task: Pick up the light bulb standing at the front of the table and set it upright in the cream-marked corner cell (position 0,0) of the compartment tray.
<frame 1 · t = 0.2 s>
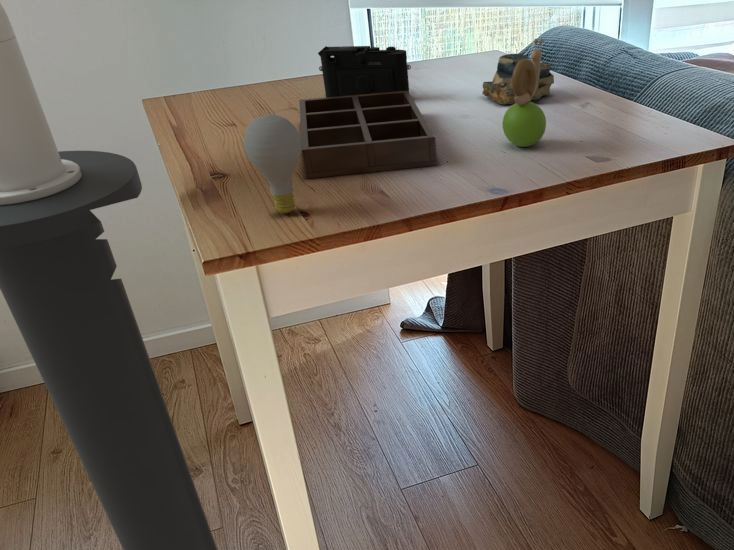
rock: (517, 99, 107), on the table
light bulb: (286, 214, 72), on the table
compartment tray: (364, 142, 90), on the table
camera: (370, 98, 110), on the table
snail figurine: (525, 146, 88), on the table
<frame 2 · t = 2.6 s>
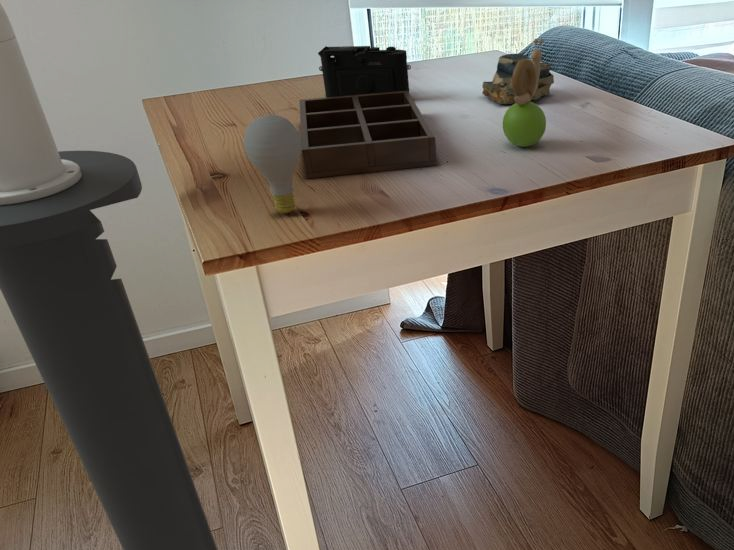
nothing on the table moved.
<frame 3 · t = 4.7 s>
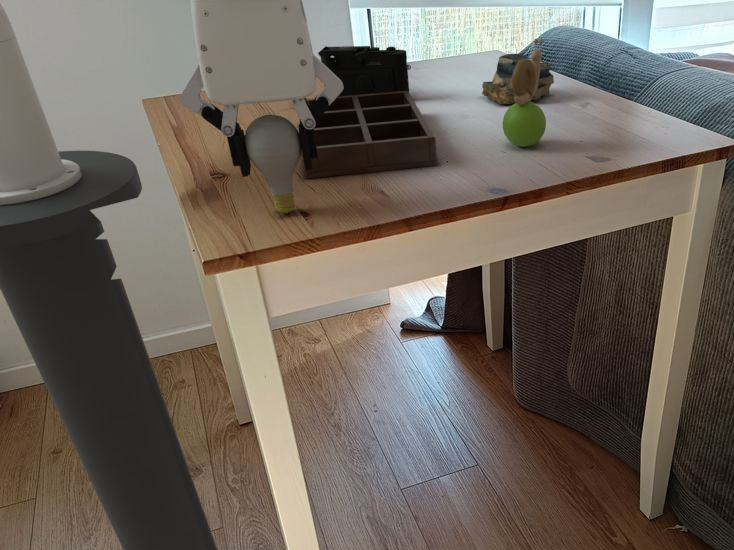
hand: (277, 167, 69), 5 cm above the table, tool pointing down, fingers closed on light bulb, 5 cm apart
light bulb: (286, 214, 72), on the table, touching gripper
everything else where it was.
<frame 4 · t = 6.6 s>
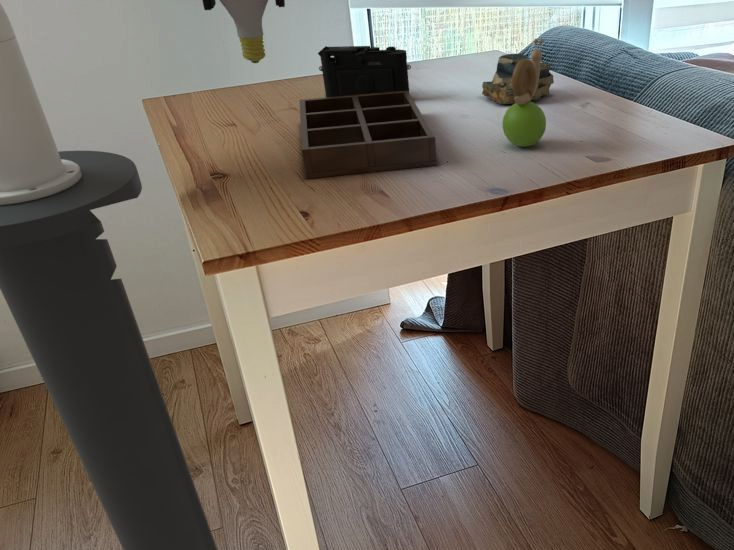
hand: (245, 4, 61), 20 cm above the table, tool pointing down, fingers closed on light bulb, 5 cm apart
light bulb: (255, 64, 64), point 14 cm above the table, touching gripper
everything else where it was.
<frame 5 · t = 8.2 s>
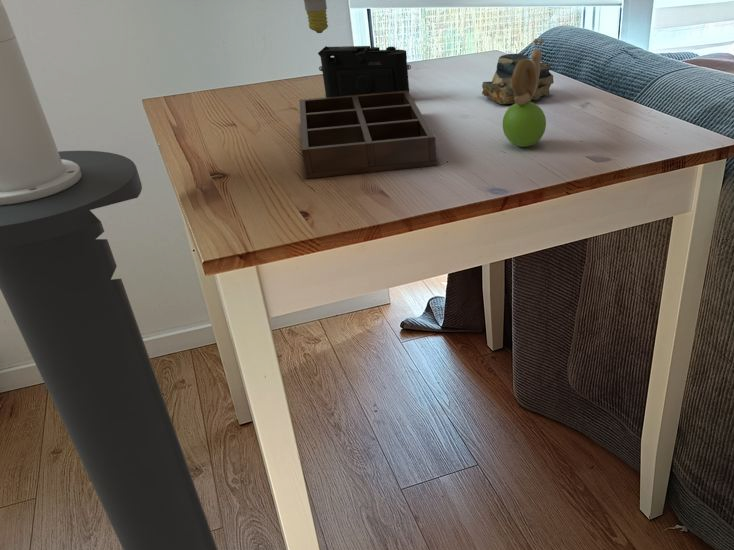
light bulb: (319, 34, 75), point 15 cm above the table, touching gripper
everything else where it was.
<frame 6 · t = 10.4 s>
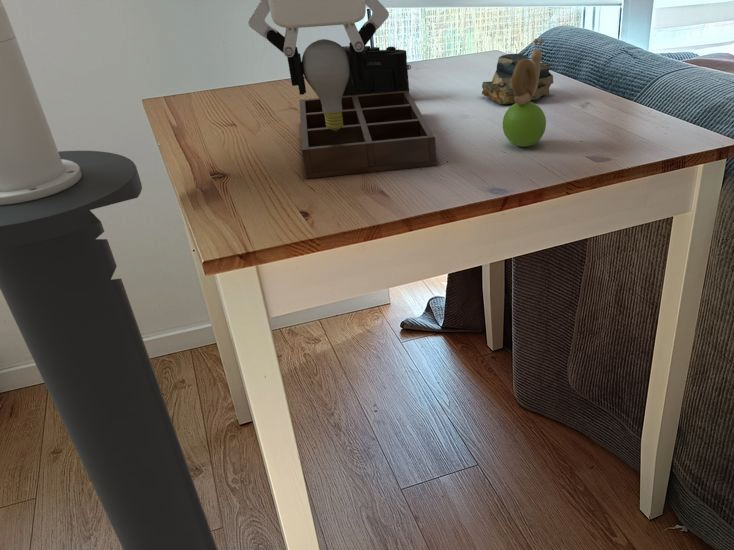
hand: (329, 87, 79), 9 cm above the table, tool pointing down, fingers closed on light bulb, 5 cm apart
light bulb: (335, 132, 82), point 4 cm above the table, touching gripper
everything else where it was.
when the fingers open (6 cm above the table, at t = 11.7 s): light bulb stays where it is, resting on compartment tray.
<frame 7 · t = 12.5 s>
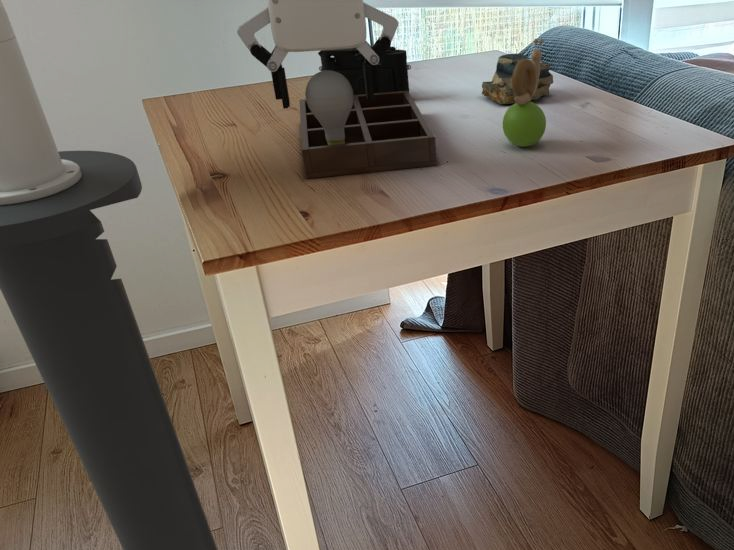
hand: (328, 102, 80), 7 cm above the table, tool pointing down, fingers open, 9 cm apart
light bulb: (338, 159, 84), point 1 cm above the table, touching compartment tray
everything else where it was.
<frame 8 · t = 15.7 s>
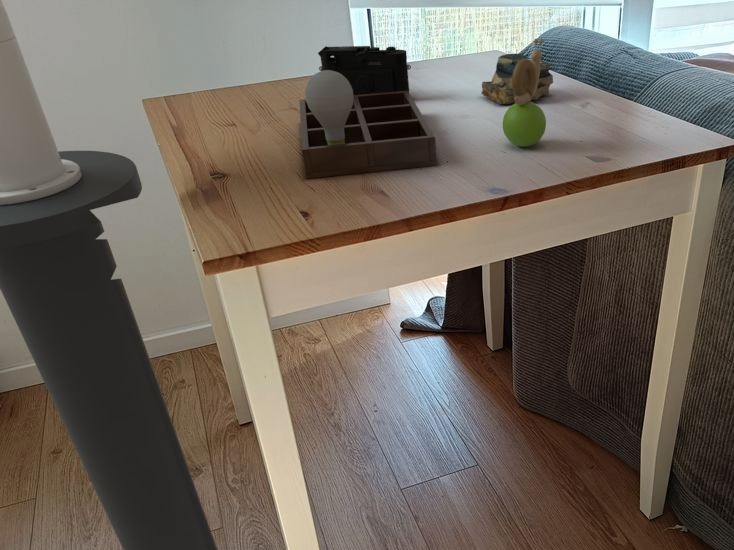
nothing on the table moved.
at the end: light bulb 0.0 cm from the target spot in the compartment tray, point 0.6 cm above the compartment tray's base; light bulb tilted 0°; the gripper is holding nothing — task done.
